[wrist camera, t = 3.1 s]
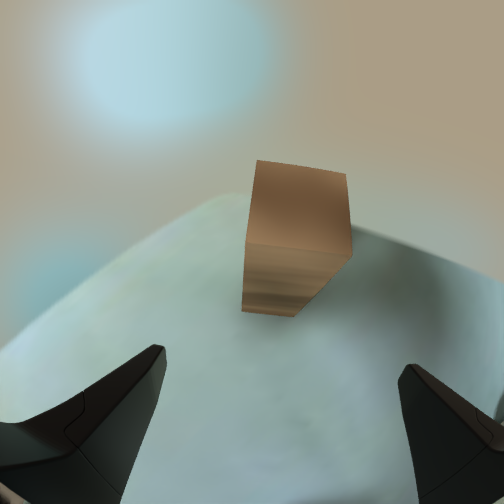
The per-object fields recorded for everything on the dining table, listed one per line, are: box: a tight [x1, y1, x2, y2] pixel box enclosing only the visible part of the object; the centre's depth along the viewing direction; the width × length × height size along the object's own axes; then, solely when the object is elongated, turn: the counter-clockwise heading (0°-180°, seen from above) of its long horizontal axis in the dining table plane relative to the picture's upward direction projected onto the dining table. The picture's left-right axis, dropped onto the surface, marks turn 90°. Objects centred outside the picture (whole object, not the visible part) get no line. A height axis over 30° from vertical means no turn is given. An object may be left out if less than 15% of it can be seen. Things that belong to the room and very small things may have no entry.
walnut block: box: [242, 160, 352, 317], centre depth 18 cm, size 4×4×13 cm
